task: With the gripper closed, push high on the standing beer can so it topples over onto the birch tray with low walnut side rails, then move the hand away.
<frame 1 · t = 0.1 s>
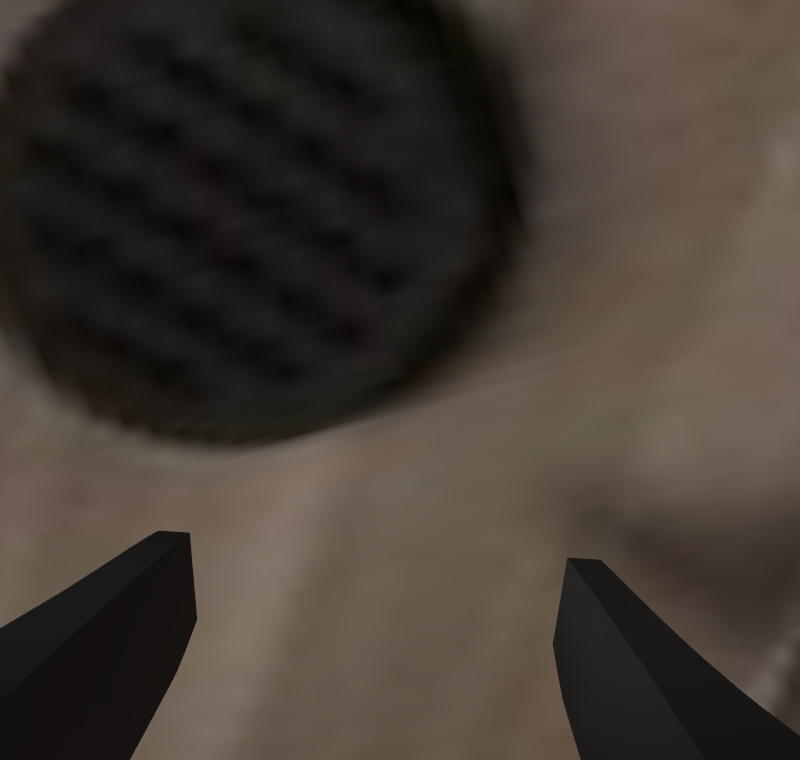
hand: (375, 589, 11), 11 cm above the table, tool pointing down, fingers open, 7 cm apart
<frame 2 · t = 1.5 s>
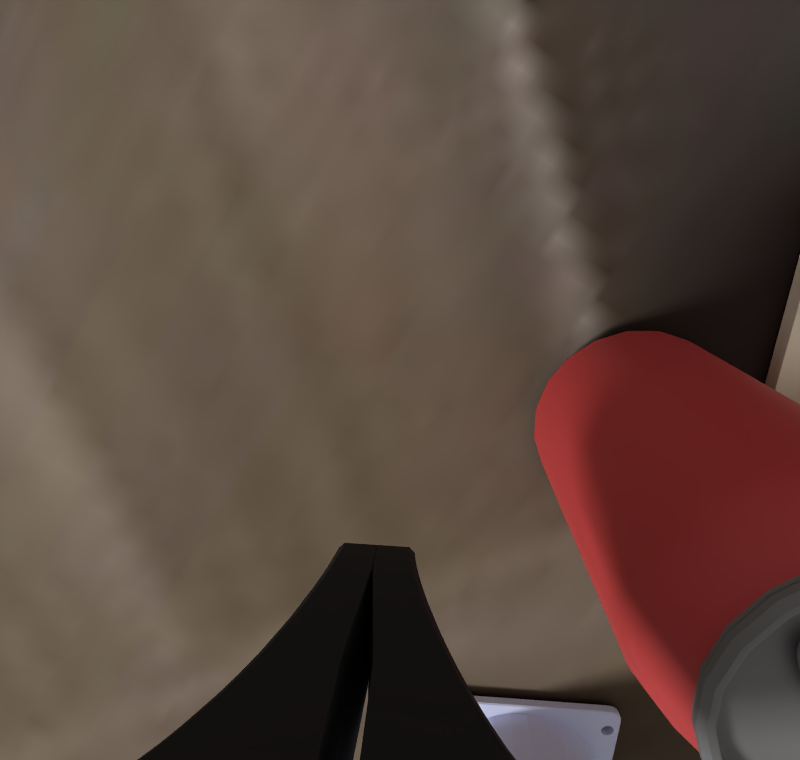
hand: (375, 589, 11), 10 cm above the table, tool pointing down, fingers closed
beer can: (622, 414, 20), on the table
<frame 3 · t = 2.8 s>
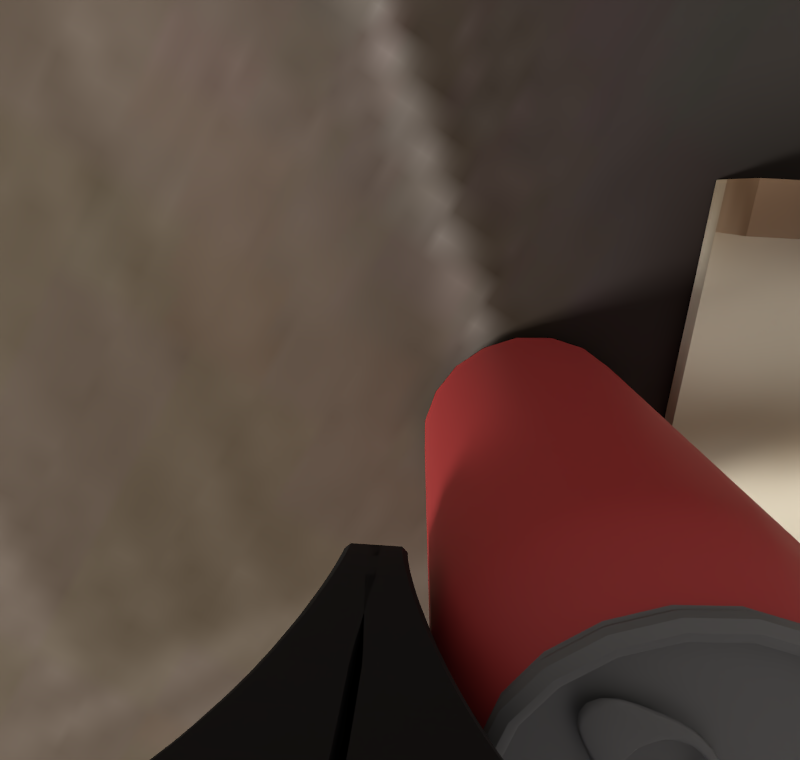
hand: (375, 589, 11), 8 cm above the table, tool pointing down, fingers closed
beer can: (522, 426, 19), on the table, touching gripper
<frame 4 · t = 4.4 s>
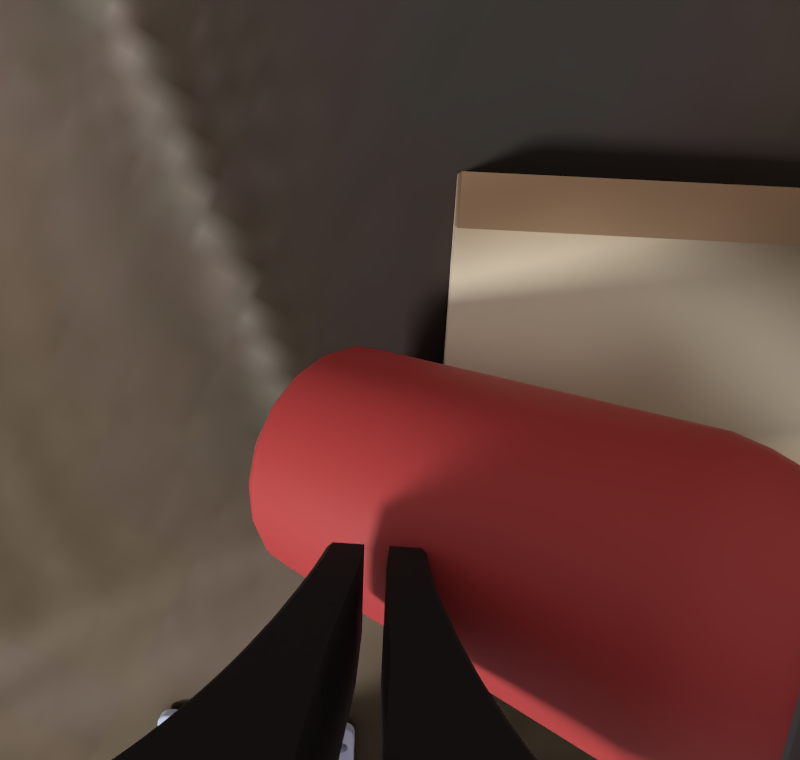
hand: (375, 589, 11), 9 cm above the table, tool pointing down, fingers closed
beer can: (325, 450, 17), point 2 cm above the table, touching gripper
birch tray: (678, 441, 19), on the table
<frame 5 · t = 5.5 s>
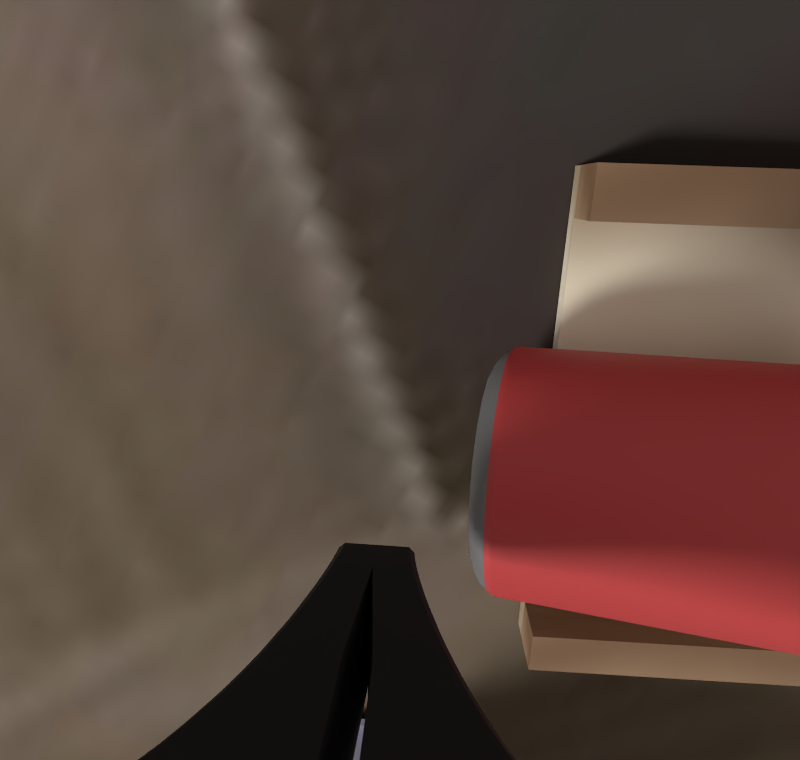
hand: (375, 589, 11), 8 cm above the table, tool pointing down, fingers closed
beer can: (479, 464, 15), point 3 cm above the table, touching birch tray
birch tray: (791, 437, 18), on the table
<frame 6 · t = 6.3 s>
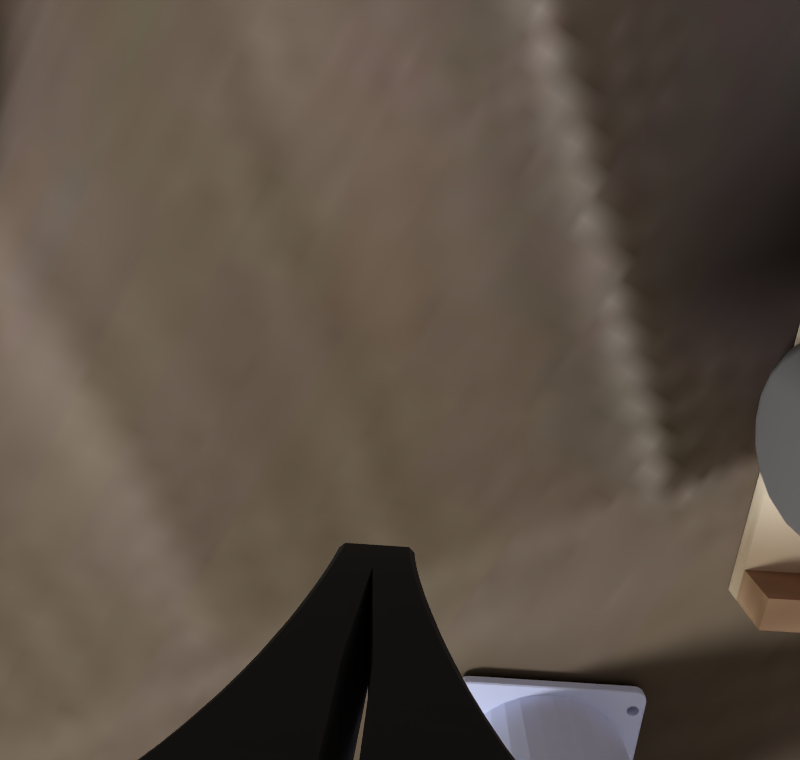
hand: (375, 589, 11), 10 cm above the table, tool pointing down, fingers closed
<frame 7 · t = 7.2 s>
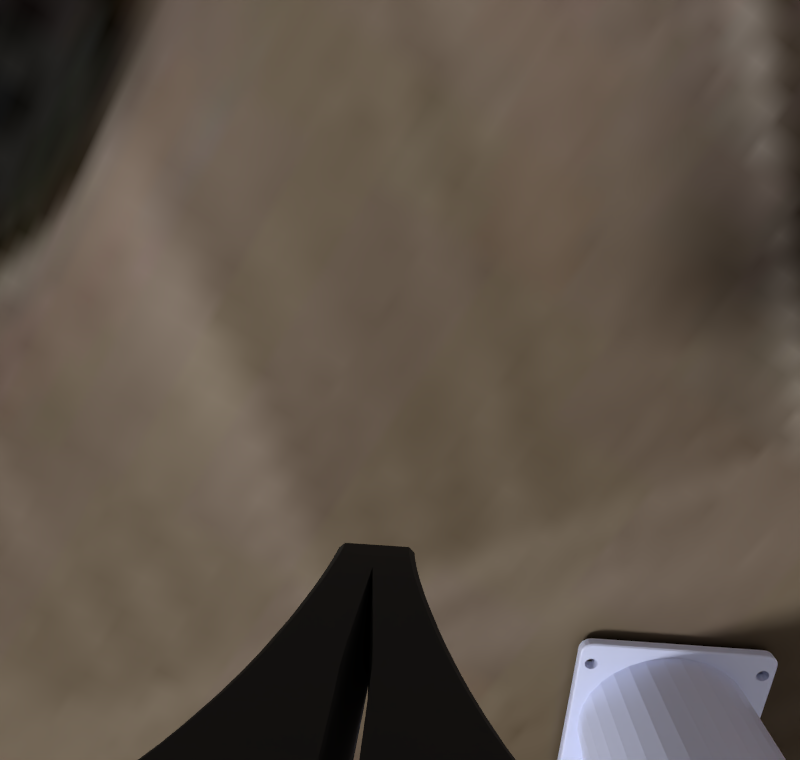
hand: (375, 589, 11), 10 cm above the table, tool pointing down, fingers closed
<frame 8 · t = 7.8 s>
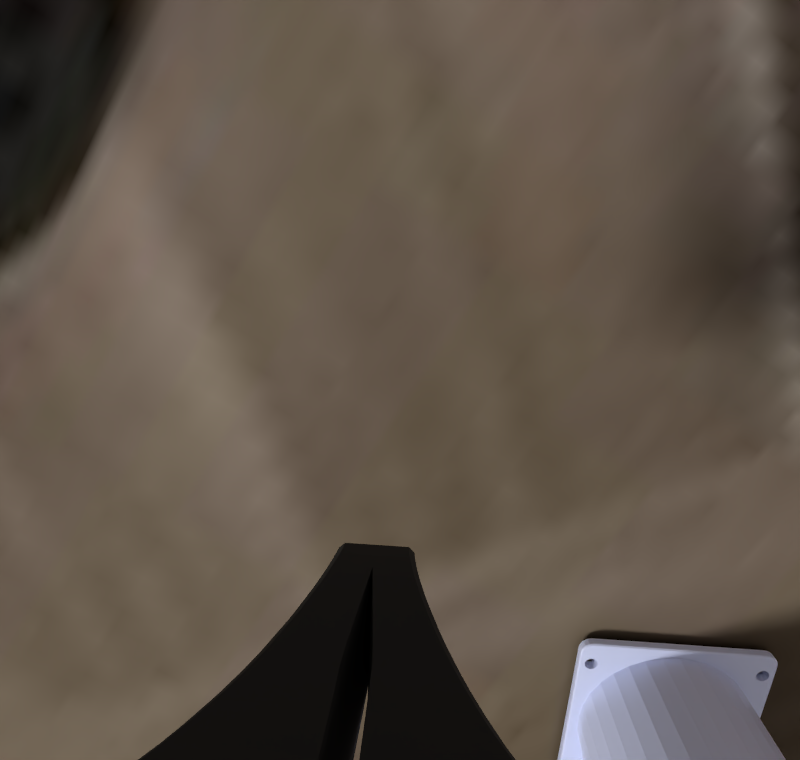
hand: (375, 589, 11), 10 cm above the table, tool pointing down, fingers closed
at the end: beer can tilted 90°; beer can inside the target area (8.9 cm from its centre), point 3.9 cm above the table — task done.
